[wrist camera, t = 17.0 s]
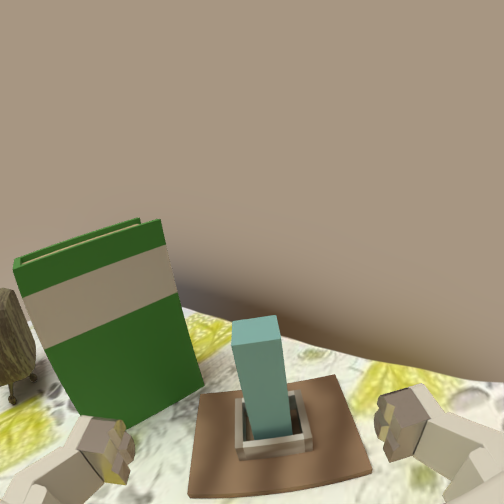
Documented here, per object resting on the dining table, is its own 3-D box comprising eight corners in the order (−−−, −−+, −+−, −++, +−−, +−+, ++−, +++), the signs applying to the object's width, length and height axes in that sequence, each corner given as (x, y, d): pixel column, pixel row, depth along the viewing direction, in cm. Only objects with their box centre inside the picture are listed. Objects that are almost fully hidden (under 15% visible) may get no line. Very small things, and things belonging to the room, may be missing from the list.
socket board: (190, 498, 23) (179, 482, 22) (202, 399, 38) (195, 380, 37) (371, 473, 23) (375, 456, 22) (335, 379, 38) (334, 359, 37)
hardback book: (178, 365, 46) (137, 217, 39) (204, 385, 41) (160, 219, 34) (83, 413, 35) (14, 259, 28) (99, 443, 30) (12, 269, 23)
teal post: (256, 446, 28) (231, 345, 24) (254, 421, 32) (232, 321, 28) (293, 441, 28) (280, 338, 24) (289, 416, 32) (275, 315, 28)
